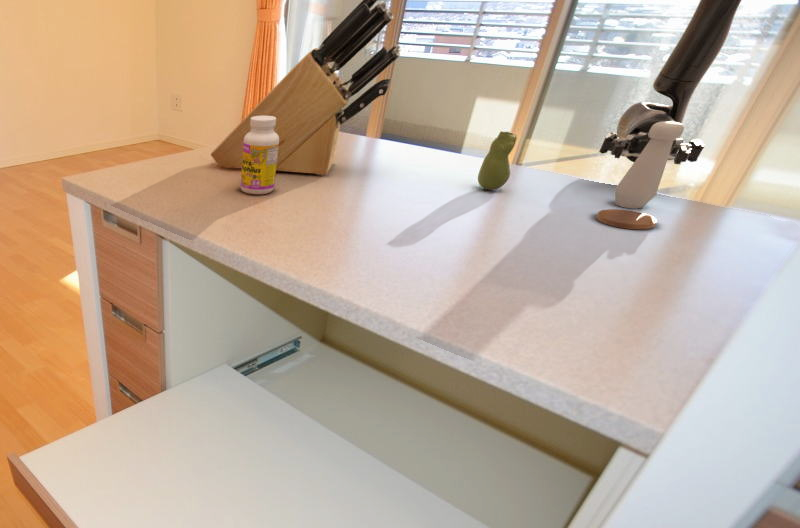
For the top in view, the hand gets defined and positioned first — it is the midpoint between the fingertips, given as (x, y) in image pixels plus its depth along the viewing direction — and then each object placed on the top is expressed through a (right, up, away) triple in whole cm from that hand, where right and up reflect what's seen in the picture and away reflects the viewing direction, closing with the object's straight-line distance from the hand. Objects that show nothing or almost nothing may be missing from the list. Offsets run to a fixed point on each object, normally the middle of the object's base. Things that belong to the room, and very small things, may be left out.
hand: (649, 154), depth 93 cm
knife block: (-55, +10, +27) cm, 63 cm away
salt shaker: (-2, -8, +3) cm, 8 cm away
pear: (-21, -1, +12) cm, 24 cm away
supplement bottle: (-66, 0, +14) cm, 67 cm away
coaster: (-8, -13, -4) cm, 16 cm away
